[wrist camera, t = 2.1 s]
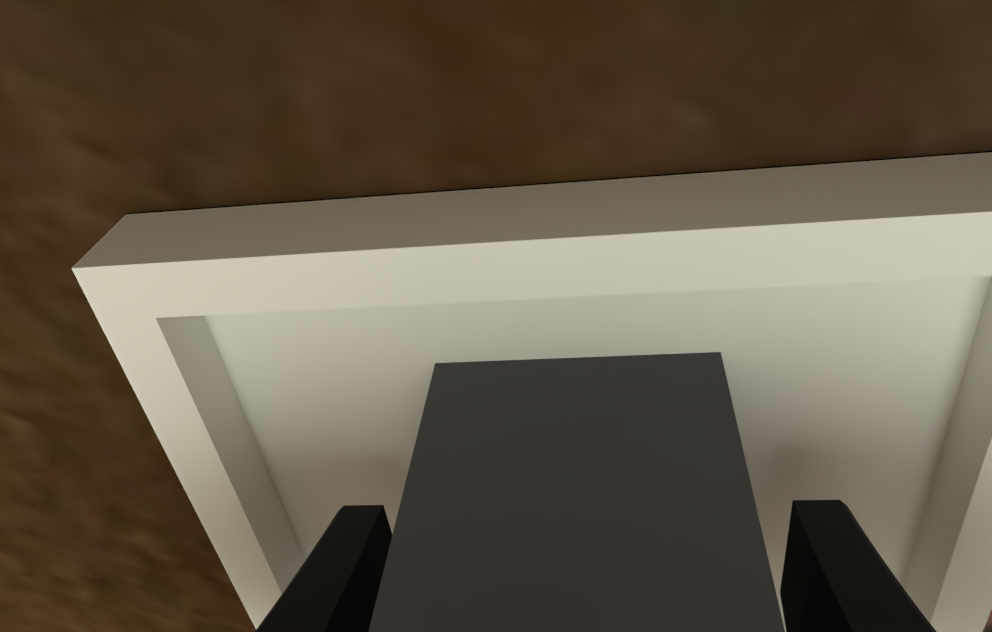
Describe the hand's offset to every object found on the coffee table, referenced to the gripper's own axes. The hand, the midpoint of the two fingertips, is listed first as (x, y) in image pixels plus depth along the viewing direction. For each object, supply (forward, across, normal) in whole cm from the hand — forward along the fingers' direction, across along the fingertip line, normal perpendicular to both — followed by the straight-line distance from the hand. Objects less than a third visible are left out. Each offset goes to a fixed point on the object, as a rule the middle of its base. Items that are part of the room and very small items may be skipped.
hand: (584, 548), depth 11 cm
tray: (+2, 0, 0) cm, 2 cm away
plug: (+1, 0, 0) cm, 1 cm away
